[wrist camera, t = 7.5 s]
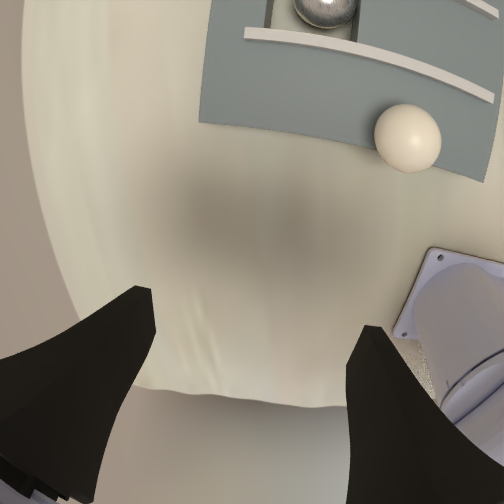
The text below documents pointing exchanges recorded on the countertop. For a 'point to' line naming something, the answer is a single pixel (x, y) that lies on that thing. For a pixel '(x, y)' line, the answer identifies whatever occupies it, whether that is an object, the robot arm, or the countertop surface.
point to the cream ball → (407, 138)
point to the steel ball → (325, 12)
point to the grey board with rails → (362, 73)
